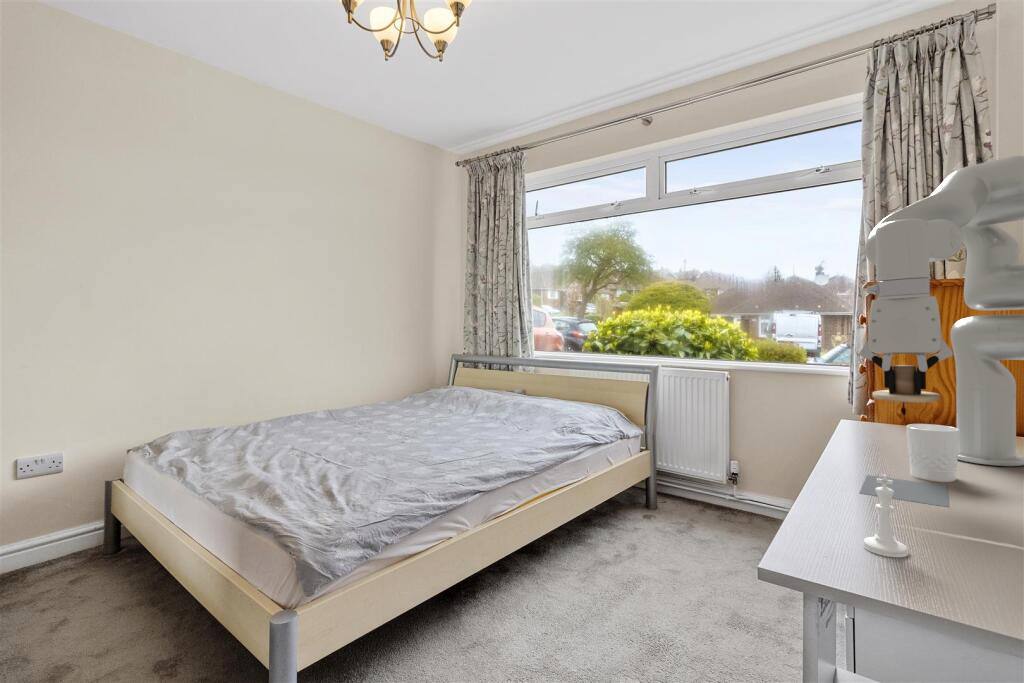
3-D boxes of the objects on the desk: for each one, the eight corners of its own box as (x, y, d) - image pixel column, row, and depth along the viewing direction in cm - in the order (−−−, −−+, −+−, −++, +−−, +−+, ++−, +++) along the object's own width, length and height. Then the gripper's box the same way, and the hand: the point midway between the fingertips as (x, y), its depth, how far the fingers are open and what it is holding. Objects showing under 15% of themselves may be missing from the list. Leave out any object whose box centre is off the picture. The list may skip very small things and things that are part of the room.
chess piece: (864, 538, 71) (863, 468, 71) (909, 547, 68) (908, 473, 68) (860, 551, 67) (860, 476, 67) (907, 561, 64) (907, 482, 64)
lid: (874, 393, 97) (873, 363, 97) (939, 395, 91) (938, 363, 91) (870, 400, 90) (869, 368, 90) (940, 403, 84) (940, 369, 84)
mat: (866, 476, 100) (866, 474, 100) (946, 487, 92) (946, 485, 92) (859, 495, 89) (859, 493, 89) (949, 509, 81) (949, 507, 81)
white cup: (898, 476, 100) (897, 426, 100) (920, 471, 103) (920, 422, 103) (945, 486, 93) (945, 432, 93) (968, 480, 96) (968, 428, 96)
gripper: (845, 293, 92) (848, 393, 93) (965, 285, 82) (967, 398, 82) (850, 294, 98) (852, 388, 99) (963, 287, 88) (965, 392, 88)
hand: (905, 391), depth 91 cm, fingers closed on lid, 3 cm apart
